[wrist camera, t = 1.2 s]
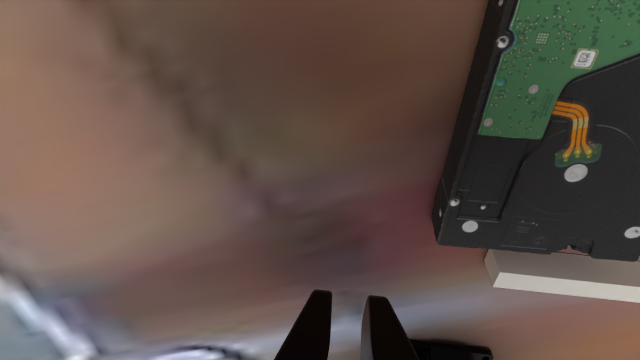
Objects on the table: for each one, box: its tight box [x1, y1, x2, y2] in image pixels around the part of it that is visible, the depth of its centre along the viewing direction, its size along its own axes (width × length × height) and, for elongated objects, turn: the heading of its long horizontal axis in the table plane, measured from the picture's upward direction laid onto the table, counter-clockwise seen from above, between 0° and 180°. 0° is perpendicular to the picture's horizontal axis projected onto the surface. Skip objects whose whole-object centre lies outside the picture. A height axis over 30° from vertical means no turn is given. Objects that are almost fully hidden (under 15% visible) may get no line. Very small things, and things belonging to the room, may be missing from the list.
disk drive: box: [432, 0, 640, 262], centre depth 18 cm, size 10×3×15 cm
